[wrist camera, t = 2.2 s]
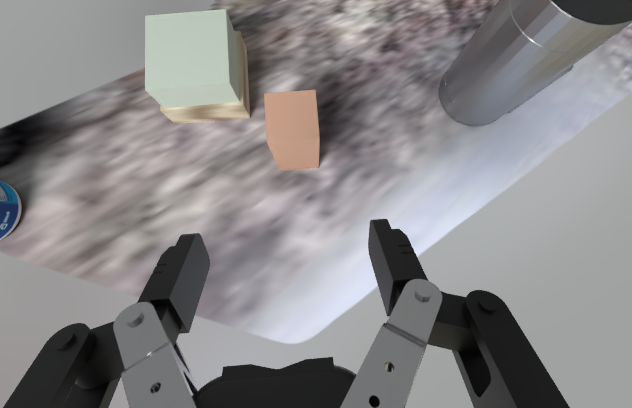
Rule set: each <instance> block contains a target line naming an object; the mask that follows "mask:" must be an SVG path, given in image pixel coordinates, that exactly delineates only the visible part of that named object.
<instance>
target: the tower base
mask: <svg viewBox="0 0 632 408" xmlns="http://www.w3.org/2000/svg"><path fill="white" fill-rule="evenodd" d="M235 34H236V43H237V62H238V81H239V99H240V102H233V103H222V104H211V105H199V106H188V107H177V108H164V107H163V106H162V105H161V104H160V111H161V112H162V113H163V114H164V115H166V116H167V117H168V118H169V119H170V120H171V121H172V122H174V123H175V124H177V123H190V122H204V121H217V120H231V119H244V118H250V102H249V81H248V60H247V49H246V46H245V43H244V40H243V37H242V34H241V32H240V31H235Z"/></svg>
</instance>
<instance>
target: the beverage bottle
mask: <svg viewBox="0 0 632 408" xmlns="http://www.w3.org/2000/svg"><path fill="white" fill-rule="evenodd" d="M21 211H22V205H21V200H20V197H19V195H18V193H17V192H16V190H15V189H14V188H13V187H11V186H10V185H8V184H7V183H5V182H2V181H0V240H1V239H3V238H5V237H6V236H7V235H8V234H10V233H11V232H12V230H13V229H14V228H15V227H16V225H17V223H18V221H19V219H20V216H21Z"/></svg>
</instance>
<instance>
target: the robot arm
mask: <svg viewBox="0 0 632 408" xmlns="http://www.w3.org/2000/svg"><path fill="white" fill-rule="evenodd" d="M630 23H632V0H499V2H498V3H497V4H496V6H495V7H494V8H493V10H492V11H491V12H490V14H489V15H488V16H487V18H486V19H485V21H484V22H483V23H482V25H481V26H480V27H479V29H478V30H477V31H476V33H475V34H474V35H473V37H472V38H471V39H470V41H469V42H468V43H467V45H466V46H465V48H464V49H463V50H462V52H461V53H460V54H459V56H458V57H457V58H456V60H455V61H454V62H453V64H452V65H451V67H450V68H449V69H448V71H447V72H446V73H445V75H444V76H443V78H442V80H441V82H440V86H439V97H440V101H441V104H442V105H443V107H444V109H445V110H446V112H447V113H448V114H449V115H450V116H451V117H452V118H454V119H455V120H457V121H459V122H461V123H463V124H466V125H472V126H481V125H486V124H489V123H491V122H493V121H495V120H496V119H498V118H499V117H501V116H502V115H503V114H505V113H510V112H511V111H513V110H514V109H516V108H517V107H519V106H520V105H522V104H523V103H524V102H526V101H527V100H529V99H530V98H532V97H533V96H534V95H536V94H537V93H539V92H540V91H542V90H543V89H544V88H546V87H547V86H549V85H550V84H552V83H553V82H554V81H556V80H557V79H559V78H560V77H562V76H563V75H564V74H566V73H567V72H569V71H570V70H571V69H572V67H573V64H575V63H576V62H578V61H579V60H580V59H582V58H583V57H585V56H586V55H587V54H589V53H590V52H592V51H593V50H594V49H596V48H597V47H599V46H600V45H601V44H603V43H604V42H605V41H607V40H608V39H609V38H611V37H612V36H614V35H615V34H616V33H618V32H619V31H621V30H622V29H623V28H625V27H626V26H628V25H629V24H630ZM368 248H369V255H370V259H371V262H372V266H373V269H374V273H375V276H376V280H377V283H378V286H379V290H380V293H381V297H382V300H383V303H384V306H385V310H386V314H387V316H390V317H389V319H388V321H387V323H386V324H385V323H384V324H383V325H382V327H381V328H380V330H379V332H378V334H377V336H376V338H375V340H374V342H373V344H372V346H371V348H370V350H369V352H368V354H367V356H366V358H365V360H364V362H363V364H362V366H361V368H360V370H359V372H358V374H357V375H356V374H355V373H353V372H352V371H350V370H348V369H345V368H343V367H340V366H336V365H334V364H333V357H328V358H317V359H306V360H303V361H301V362H298V363H295V364H293V365H290V366H287V367H284V368H282V369H271V368H266V367H261V366H256V365H251V364H249V365H239V366H227V367H223V372H222V376H220V377H218V378H216V379H214V380H212V381H210V382H209V383H207V384H206V385H205V386H203V387H202V388H201V389H199V387H198V385H197V383H196V381H195V380H194V377H193V376H192V373H191V371H190V369H189V367H188V365H187V363H186V361H185V359H184V356H183V354H182V352H181V350H180V348H179V346H178V344H177V342H176V340H177V337H178V335H179V334H180V333H189V331H190V328H191V324H192V321H193V318H194V315H195V312H196V309H197V306H198V302H199V299H200V296H201V293H202V290H203V287H204V283H205V280H206V277H207V274H208V271H209V266H210V259H209V255H208V253H207V250H206V247H205V245H204V242H203V240H202V237H201V235H200V234H199V233H196V234H183V235H181V236H180V237H179V240H178V242H177V244H176V246H171V247H169V248H168V249H167V250H166V251H165V252H164V253H163V254H162V255H161V257H160V259H159V261H158V263H157V266H156V267H155V269H154V271H153V274H152V275H151V277H150V279H149V281H148V282H147V284H146V286H145V288H144V290H143V292H142V294H141V296H140V298H139V300H138V302H137V303H136V304H133V305H131V306H129V307H127V308H126V309H125V310H123V311H122V312H121V313H120V314H119V315H118V317H117V318H116V320H115V321H114V322H111V323H108V324H105V325H102V326H100V327H97V328H94V329H90V328H88V326H87V325H85V324H82V323H77V324H72V325H69V326H67V327H65V328H63V329H61V330H59V331H58V332H57V333H55V334H54V335H53V336H52V337H51V338H50V339H49V340H48V341H47V342H46V344H45V345H44V347H43V348H42V350H41V351H40V353H39V354H38V356H37V357H36V359H35V360H34V362H33V363H32V365H31V366H30V368H29V369H28V371H27V372H26V374H25V376H24V377H23V378H22V380H21V381H20V383H19V385H18V386H17V387H16V389H15V391H14V392H13V394H12V395H11V396H10V398H9V400H8V401H7V403H6V404H5V406H4V407H3V408H108V407H109V405H110V402H111V400H112V397H113V394H114V392H115V390H116V387H117V385H118V382H119V380H120V377H121V378H122V382H123V385H124V389H125V393H126V396H127V400H128V404H129V407H130V408H405V405H406V402H407V400H408V397H409V394H410V391H411V388H412V385H413V382H414V380H415V377H416V374H417V371H418V369H419V366H420V363H421V360H422V357H423V355H424V352H425V349H426V346H427V344H429V345H433V346H437V347H442V348H446V349H450V350H452V351H453V354H454V356H455V359H456V362H457V364H458V367H459V370H460V372H461V375H462V377H463V380H464V382H465V385H466V388H467V390H468V393H469V396H470V398H471V401H472V403H473V406H474V408H570V407H569V406H568V404H567V403H566V401H565V399H564V398H563V396H562V394H561V393H560V391H559V390H558V388H557V386H556V385H555V383H554V381H553V380H552V378H551V377H550V375H549V373H548V372H547V370H546V369H545V367H544V365H543V364H542V362H541V360H540V359H539V357H538V356H537V354H536V352H535V351H534V349H533V348H532V346H531V344H530V343H529V341H528V339H527V338H526V336H525V335H524V333H523V331H522V330H521V328H520V326H519V325H518V323H517V322H516V320H515V318H514V317H513V316H512V314H511V312H510V310H509V309H508V307H507V305H506V304H505V303H504V302H503V301H502V300H501V299H500V298H499V297H498V296H496V295H494V294H492V293H490V292H487V291H482V290H475V291H472V292H470V293H469V294H468V295H467V297H462V296H457V295H451V294H447V293H444V292H442V291H440V290H439V288H438V287H437V286H436V285H434V284H433V283H431V282H429V281H428V279H427V277H426V275H425V273H424V271H423V269H422V267H421V265H420V262H419V260H418V258H417V256H416V254H415V253H414V250H413V248H412V246H411V243H410V241H409V239H408V237H407V236H406V235H405V234H404V233H403V232H402V231H401V230H400V229H391V227H390V225H389V222H388V220H387V219H378V220H371V221H370V229H369V242H368ZM74 383H75V384H74ZM73 385H74V386H73Z"/></svg>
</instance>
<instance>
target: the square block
mask: <svg viewBox="0 0 632 408" xmlns="http://www.w3.org/2000/svg"><path fill="white" fill-rule="evenodd" d="M264 100H265V117H266V134H267V144H268V146H269V148H270V150H271V152H272V154H273V157H274V159H275V161H276V163H277V165H278V167H279V170H280V171H284V170H297V169H309V168H319V144H320V136H319V125H318V113H317V102H316V90H305V91H291V92H278V93H265V94H264Z"/></svg>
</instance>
